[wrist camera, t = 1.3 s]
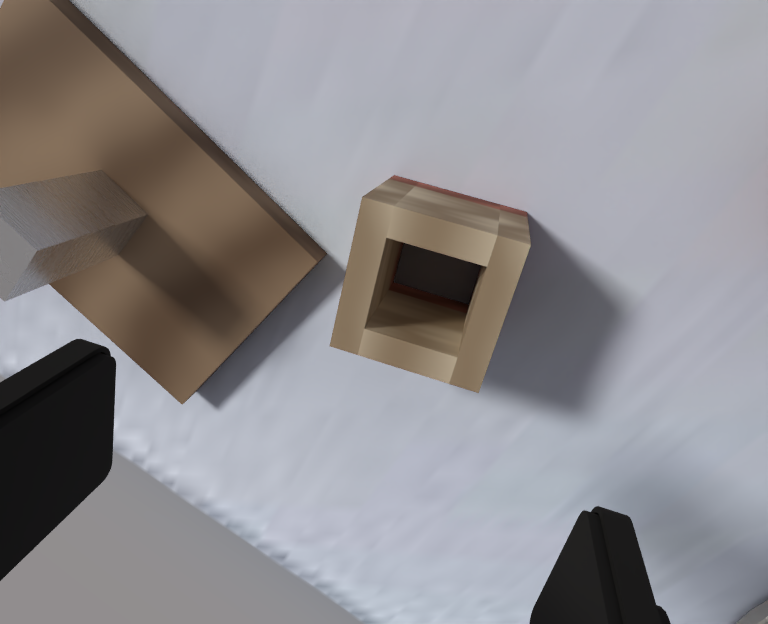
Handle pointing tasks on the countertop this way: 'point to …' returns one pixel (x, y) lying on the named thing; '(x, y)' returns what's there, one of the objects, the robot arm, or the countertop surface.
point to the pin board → (145, 198)
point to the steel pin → (61, 228)
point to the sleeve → (422, 309)
